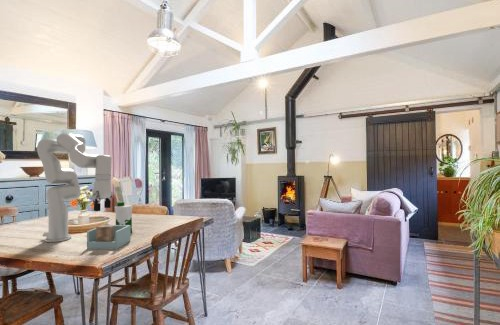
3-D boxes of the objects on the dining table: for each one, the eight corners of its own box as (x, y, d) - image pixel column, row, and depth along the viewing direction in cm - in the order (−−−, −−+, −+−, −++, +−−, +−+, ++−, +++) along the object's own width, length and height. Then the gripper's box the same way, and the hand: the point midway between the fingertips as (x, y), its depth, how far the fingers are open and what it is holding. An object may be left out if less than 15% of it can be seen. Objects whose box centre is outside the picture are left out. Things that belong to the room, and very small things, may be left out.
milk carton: (122, 232, 175) (122, 201, 175) (134, 232, 173) (134, 201, 173) (112, 235, 166) (112, 203, 166) (125, 236, 164) (125, 203, 165)
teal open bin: (86, 248, 140) (86, 231, 140) (103, 240, 155) (103, 225, 155) (117, 248, 140) (117, 231, 140) (130, 240, 155) (130, 225, 155)
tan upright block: (96, 246, 142) (96, 227, 142) (99, 244, 144) (99, 225, 144) (111, 246, 142) (111, 227, 142) (113, 244, 144) (113, 225, 144)
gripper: (105, 176, 154) (104, 206, 154) (86, 178, 136) (85, 212, 136) (118, 177, 154) (117, 206, 154) (100, 178, 136) (99, 212, 136)
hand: (102, 209), depth 145 cm, fingers open, 9 cm apart
